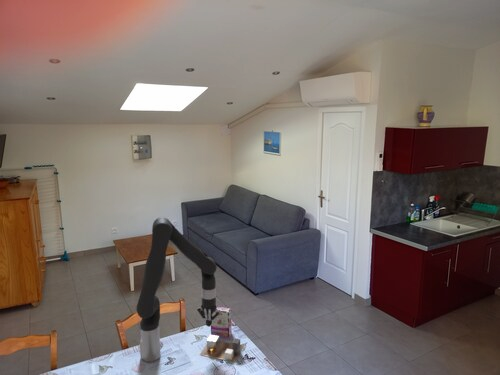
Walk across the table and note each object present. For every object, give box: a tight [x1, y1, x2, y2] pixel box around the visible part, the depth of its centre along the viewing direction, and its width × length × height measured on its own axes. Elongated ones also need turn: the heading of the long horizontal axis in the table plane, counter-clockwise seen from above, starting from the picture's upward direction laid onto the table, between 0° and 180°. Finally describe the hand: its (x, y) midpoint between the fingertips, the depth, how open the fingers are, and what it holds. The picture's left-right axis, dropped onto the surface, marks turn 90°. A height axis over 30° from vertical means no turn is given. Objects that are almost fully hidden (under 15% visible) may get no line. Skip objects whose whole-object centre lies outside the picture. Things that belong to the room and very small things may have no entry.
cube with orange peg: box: [206, 334, 220, 354], centre depth 185 cm, size 5×8×6 cm, turn 163°
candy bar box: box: [210, 306, 232, 338], centre depth 199 cm, size 11×5×16 cm, turn 76°
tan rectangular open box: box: [199, 338, 245, 363], centre depth 185 cm, size 20×14×8 cm
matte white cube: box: [225, 349, 234, 360], centre depth 179 cm, size 4×4×4 cm
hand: (208, 325), depth 186 cm, fingers closed
